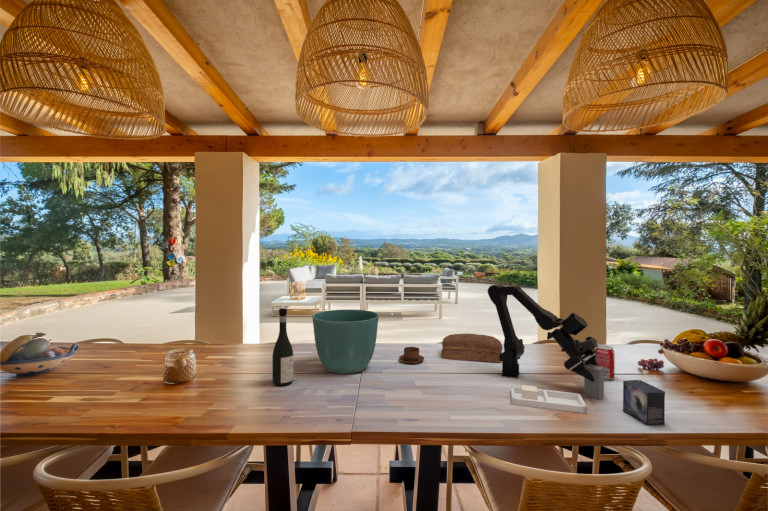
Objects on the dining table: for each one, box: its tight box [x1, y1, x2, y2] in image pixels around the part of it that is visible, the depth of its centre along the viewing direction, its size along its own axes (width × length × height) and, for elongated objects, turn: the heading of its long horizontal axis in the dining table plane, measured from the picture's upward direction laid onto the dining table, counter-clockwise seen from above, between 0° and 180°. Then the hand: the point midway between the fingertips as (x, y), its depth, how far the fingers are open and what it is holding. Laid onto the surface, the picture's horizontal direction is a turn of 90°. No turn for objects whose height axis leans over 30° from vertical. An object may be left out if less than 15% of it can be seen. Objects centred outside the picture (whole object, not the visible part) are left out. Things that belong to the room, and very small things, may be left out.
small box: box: [622, 379, 666, 426], centre depth 119 cm, size 11×6×10 cm, turn 5°
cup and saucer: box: [398, 346, 425, 364], centre depth 178 cm, size 12×12×6 cm
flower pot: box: [311, 309, 379, 375], centre depth 168 cm, size 30×30×24 cm
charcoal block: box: [583, 364, 605, 401], centre depth 136 cm, size 5×5×11 cm
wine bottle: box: [271, 307, 294, 387], centre depth 148 cm, size 8×8×30 cm
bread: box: [441, 333, 504, 364], centre depth 187 cm, size 17×29×11 cm, turn 74°
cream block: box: [521, 384, 538, 400], centre depth 130 cm, size 5×5×4 cm
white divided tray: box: [510, 385, 588, 414], centre depth 129 cm, size 23×12×3 cm, turn 72°
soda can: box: [594, 345, 616, 381], centre depth 156 cm, size 7×7×13 cm
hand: (598, 378), depth 135 cm, fingers open, 9 cm apart
